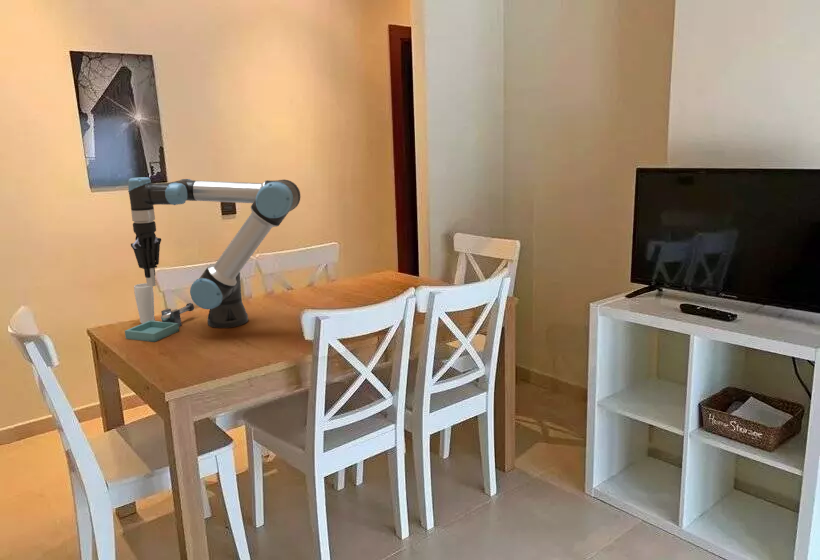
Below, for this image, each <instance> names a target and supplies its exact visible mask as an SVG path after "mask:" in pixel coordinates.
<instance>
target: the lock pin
mask: <svg viewBox="0 0 820 560" xmlns="http://www.w3.org/2000/svg"><path fill="white" fill-rule="evenodd" d="M194 309H195V305H194V304H193V303H192V302H188V303H187V304H186V305H185V306H182V307H181V308H178V310H180V315H182V314H183V313H186V312H193V311H194ZM170 318H171V316H170V313H168V314H165V315H163V316H162V315H161V316H160V320H161V321H162V320H163V321H165V320H167V319H170Z"/></svg>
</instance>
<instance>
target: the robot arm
mask: <svg viewBox="0 0 820 560" xmlns="http://www.w3.org/2000/svg"><path fill="white" fill-rule="evenodd" d="M127 185H128V187H127V188H128V189H127V191H128V192H127V193H128V196H129V201H130V202H129V203H130V209H131V210H130V211H131V218H132V222H133V223H132V231H133V233H134V234H135V238H134V240H135V241H134V242H132V243H130V247H131V249H132V250H133V252H134V256H135V258H136V262H137V265H138V268H140V269H143V270H144V271H143V272H144V277H145V280H146V283H147V286H153V287H156V286H157V283H156V268H157V267H158V265H159V264H160V249H161V247H160V246H161V242H162V238H161V237H158V236H157V234H156V233H155V232H157V224H156V221H155V220H156V215H155V209H154V206H155V205H168V206H169V205H172V206H177V205H184V204H185V203H186V201H188V202H190V201H191V202H218V203H235V204H238V203H239V204H240V203H241V204H251V205H250V211H251V213H250V214H249V216H248V217H247V219H246V220H245V222H244V223H243V224H242V226H241V227H240V228H239V230H238V232H237V233H236V234H235V235H234V237H233V238H232V240H231V241H230V242H229V244H228V245H227V247H226V248H225V249H224V251H223V252H222V254H221V255H220V256H219V258H218V259H217V261H216V262H215V263H210V264H209V265H207V267H206V268H205V270H204V271H203V272H202V274H201V275H200V277H199V278H197V279H196V280H194V281H193V283H192V284H191V285H190V289H189V294H190V297H191V300H192V302H193V303H194V304H195V305H196V306H197V307H198V308H201V309H204V310H209V312H208V316H207V325H208V326H209V327H211V328H216V329H227V328H228V329H229V328H234V327H235V328H236V327H240V326H242V325H245V324H247V323H248V322H249V315H248V313H247V309H246V307H245V306H244V303H243V298H242V286H241V285H242V284H241V283H242V282H241V271H242V269H244V267H245V265H247V263H248V261H249V260H250V259H251V257H252V256H253V255H254V253H255V251H256V250H257V249H258V248H259V246H260V245H261V243H263V240H265V238H266V237H267V235H268V234H269V232H270V231H271V229H272V228H275V227H279V226H280V225H281V223H282V222H283V221H284V220H285V218H286V216H287V215H288V214H289V213H290V212H292V211H294V210H295V209H296V208H297V207H299V206H298V205H299V204H300V201H301V191H300V189H299V187H298V186H297V185H296V183H294V182H293V181H291V180H288V179H278V180H277V179H276V180H264V181H263V182H249V181H248V182H244V181H243V182H242V181H220V180H219V181H217V180H194V179H190V178H189V179H188V178H182V179H180V180H175V181H170V182H152V181H151V178H150V177H144V176H143V177H142V176H141V177H130V178H129V179H128V180H127Z"/></svg>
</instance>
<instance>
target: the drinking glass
mask: <svg viewBox="0 0 820 560" xmlns="http://www.w3.org/2000/svg"><path fill="white" fill-rule="evenodd" d="M133 291H134V297H135V303H136V307H137V312H138V316H139V322H140V324H143V323H145V322H147V321H150V320H151V321H156V320H155V319H156V318H155V297H154V296H155V293H154V286H147V282H145V283H139V284H135V285H134V286H133Z"/></svg>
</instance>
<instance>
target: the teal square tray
mask: <svg viewBox="0 0 820 560" xmlns="http://www.w3.org/2000/svg"><path fill="white" fill-rule="evenodd" d="M179 332H180V327H179V325H178V323H170V322H162V320H161V321H158V320H155V321H151V320H150V321H147V322H145V323H143V324H142V323H140V324H138V325H135V326H132V327H131V328H128V329H126V330H124V334H125V336H124V337H125V340H132V341H133V340H134V341H143V342H150V343H156V342H159V341H160V340H163V339H165V338H167V337H169V336H171V335H174V334H175V333H179Z"/></svg>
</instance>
